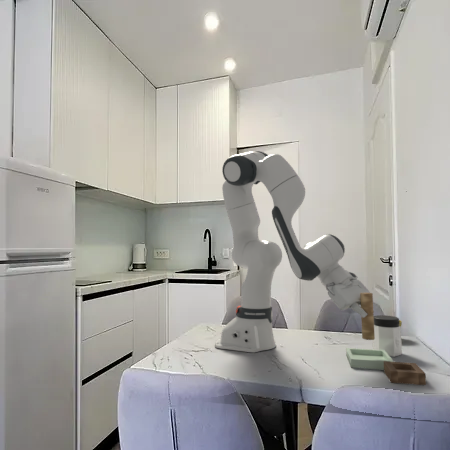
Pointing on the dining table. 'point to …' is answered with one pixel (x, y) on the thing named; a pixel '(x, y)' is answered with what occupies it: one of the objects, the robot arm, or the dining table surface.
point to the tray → (367, 358)
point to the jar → (387, 335)
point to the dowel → (369, 319)
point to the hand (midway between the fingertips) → (369, 314)
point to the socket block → (404, 373)
